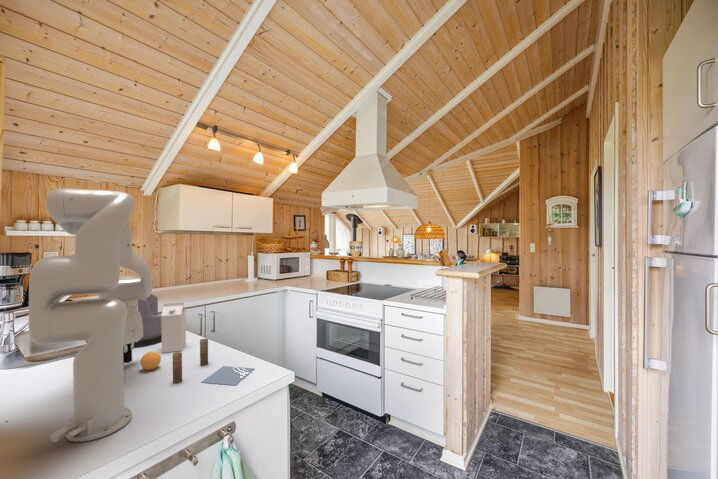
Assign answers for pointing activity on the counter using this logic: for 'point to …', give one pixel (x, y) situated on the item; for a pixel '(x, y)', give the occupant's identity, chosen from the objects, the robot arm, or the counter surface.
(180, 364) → the inner post
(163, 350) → the milk carton
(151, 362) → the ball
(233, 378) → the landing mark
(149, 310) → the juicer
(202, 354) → the outer post
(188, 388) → the counter surface
